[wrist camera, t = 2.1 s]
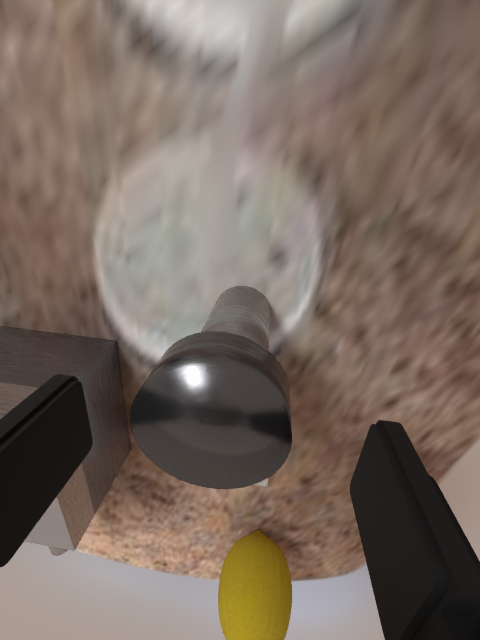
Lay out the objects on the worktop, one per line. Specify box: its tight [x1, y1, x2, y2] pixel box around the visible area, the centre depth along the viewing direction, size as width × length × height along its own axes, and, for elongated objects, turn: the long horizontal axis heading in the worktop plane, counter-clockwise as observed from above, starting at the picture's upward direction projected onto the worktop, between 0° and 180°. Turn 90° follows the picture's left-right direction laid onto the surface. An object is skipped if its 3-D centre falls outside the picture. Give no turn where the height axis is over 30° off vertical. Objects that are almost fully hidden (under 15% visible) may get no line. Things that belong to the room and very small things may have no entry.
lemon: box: [218, 530, 292, 640], centre depth 22 cm, size 6×6×8 cm
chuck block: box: [0, 326, 131, 556], centre depth 20 cm, size 18×10×7 cm, turn 176°
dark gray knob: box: [130, 286, 292, 489], centre depth 12 cm, size 5×5×9 cm
